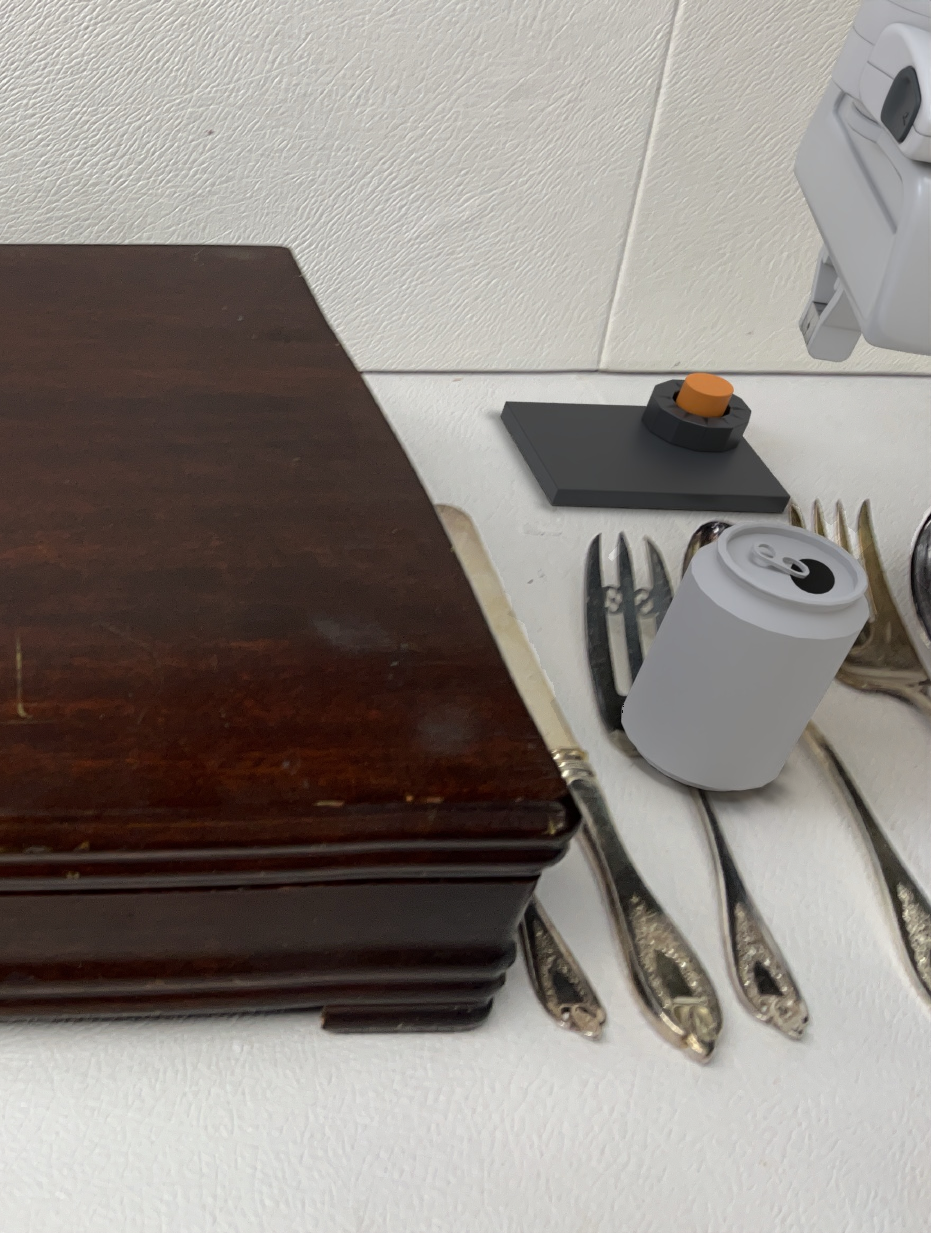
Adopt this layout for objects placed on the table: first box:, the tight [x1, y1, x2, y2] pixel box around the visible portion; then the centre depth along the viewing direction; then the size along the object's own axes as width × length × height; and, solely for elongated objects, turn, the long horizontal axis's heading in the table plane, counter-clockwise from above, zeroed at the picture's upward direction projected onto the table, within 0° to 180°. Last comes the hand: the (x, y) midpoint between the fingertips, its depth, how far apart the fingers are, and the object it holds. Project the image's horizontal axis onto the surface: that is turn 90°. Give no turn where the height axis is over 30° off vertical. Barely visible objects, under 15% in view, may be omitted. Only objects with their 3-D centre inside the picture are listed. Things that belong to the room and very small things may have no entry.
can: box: [620, 520, 870, 792], centre depth 75 cm, size 8×8×12 cm
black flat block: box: [500, 379, 792, 513], centre depth 98 cm, size 14×10×3 cm
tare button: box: [676, 372, 735, 418], centre depth 99 cm, size 3×3×2 cm
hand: (820, 346), depth 76 cm, fingers closed
